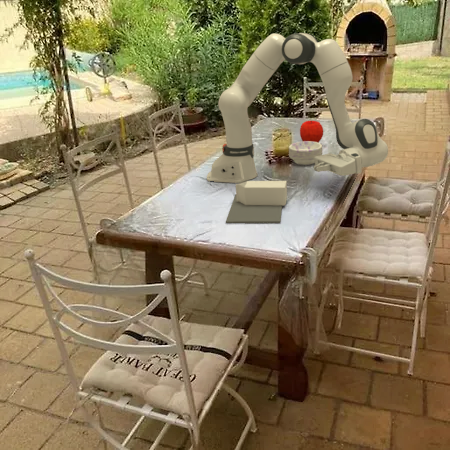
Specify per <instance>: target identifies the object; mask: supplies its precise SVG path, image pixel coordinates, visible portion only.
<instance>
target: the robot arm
mask: <svg viewBox="0 0 450 450" xmlns="http://www.w3.org/2000/svg"><path fill="white" fill-rule="evenodd" d="M285 61H286V62H288V63H289V64H292V65H305V64H306V63H307V64H308V63H312V64H313V65H314V66H315V68H316V69H317V72H318V74H319V76H320V79H321V81H322V84H323V88H324V91H325V98H326V102H327V103H326V104H327V106H328V108H329V112H330V114H331V119H332V121H333V123H334V128H335V137H336V138H335V139H336V143H337V144H338V146H339V147H340V148H341V150H339V152H338V154H334V153H325V154H322V155H320V156H316V157H315V158H314V160H315V163H314V166H313V171H315V172H318V173H320V172H330V173H333V174H335V175H338V176H343V177H344V176H349V175H355V174H361V173H362V168H368V167H369V168H370V167H373V166H375V165H378V164H380V163H383V162H384V161H385V160H386V158H388V155H389V147H388V144H387V142H386V141H384V140H383V139H382V138H381V137H380V135H379V133H378V130H377V126H376V125H375V123H374V122H373V121H372V120H371V119H368V118H361V119H359V120H356V121H354V122H352V121H351V119H350V115H349V112H348V108H347V106H346V102H345V101H346V95H347V92H348V91H349V88H350V87H351V85H352V83H353V78H354V77H353V72H352V71H353V70H352V69H351V66H350V63H349V61H348V59H347V57H346V55H345V53H344V51H343V49H342V48H341V47H340V45H339V43H338V42H337V41H336V39H333V38H326V39H323V40H321V41H318V39H317V38H316V37H315V35H312V34H309V33H305V32H299V33H297V32H296V33H292V34H290V35H288V36H287V37H286V38H285V37H284V36H283V35H282V34H280V33H271V34H270V35H268V36H267V37H266V38H265V39H263V41H262V42H261V43H260V44H259V45H258V47H257V48H255V50H254V52H253V53H252V54H251V55H250V57H249V59H248V60H247V61H246V63H245V64H244V66H242V69H241V71H240V72H239V73H238V76H237V78H236V79H235V80H234V82H233V83H232V84H231V86H229V87H228V88H226V89H225V90H223V91H222V93H221V95H220V96H219V99H218V104H217V105H218V106H217V107H218V109H219V111H220V113H221V116H222V119H223V123H224V128H225V139H226V143H223V144H222V154H220V156H218V157H217V158H216V159H215V160H214V161H213V163H212V164H211V170H210V171H209V172H208V173H207V175H206V180H207V182H210V181H214V182H213V183H230V184H231V183H233V184H234V183H235V184H240V183H243V182H246V181H251V180H253V179H255V178H257V177H258V172H257V168H256V163H255V159H254V158H255V147H254V142H253V135H252V134H253V133H252V130H253V129H252V124H251V123H250V122H251V121H250V118H249V114H248V107H250V106H251V105H252V103H253V102H254V100H255V99H256V98H257V96H258V95H259V94H260V92H261V91H262V89H263V88H264V87H265V85H266V84H267V83H268V81H269V80H270V78H271V77H272V76H273V75H274V73H275V72H276V71H277V70H278V68H279V67H280V65H281V64H282V63H283V62H285Z"/></svg>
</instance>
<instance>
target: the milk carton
mask: <svg viewBox="0 0 450 450" xmlns="http://www.w3.org/2000/svg"><path fill="white" fill-rule="evenodd" d="M287 183H288V181H287V180H246V181H244V182H241V183H235V193H236V198H237V202H241V203H243V204H244V205H282V206H286V203H287V200H288V199H287V198H288V189H287V186H288V185H287Z"/></svg>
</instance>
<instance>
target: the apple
mask: <svg viewBox="0 0 450 450" xmlns="http://www.w3.org/2000/svg"><path fill="white" fill-rule="evenodd" d="M299 135H300V139H301V142H303V141H312V142H318V143H320V141H321V140H322V139H323V136H324V127H323V125H322V124H321V122H319V121H316V120H306V121H304V122H302V124H301V126H300V127H299Z"/></svg>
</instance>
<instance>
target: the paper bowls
mask: <svg viewBox="0 0 450 450" xmlns="http://www.w3.org/2000/svg"><path fill="white" fill-rule="evenodd" d="M320 155H323V144H321V143H320V142H319V143H318V142H312V141H297V142H293V143H291V144H290V145H289V146H288V157H289V159H291V160H293V161H294V163H295V164H297V165H301V166H305V165H306V166H308V165H312V164H315V160H314V158H315V157H316V156H320Z"/></svg>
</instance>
